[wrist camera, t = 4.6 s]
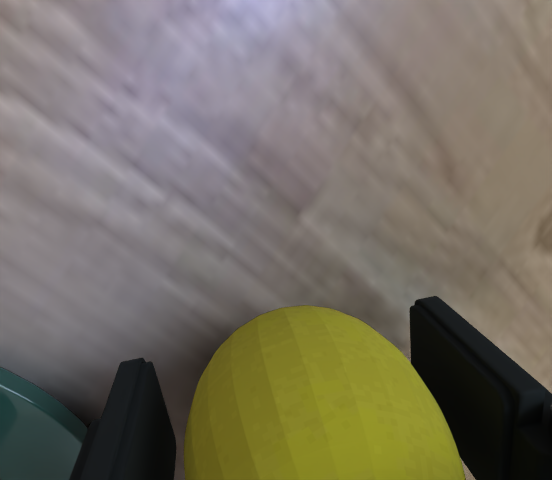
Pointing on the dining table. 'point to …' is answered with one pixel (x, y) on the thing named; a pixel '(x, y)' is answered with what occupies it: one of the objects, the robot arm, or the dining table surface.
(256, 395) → the lemon
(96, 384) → the dining table surface
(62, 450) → the lid
